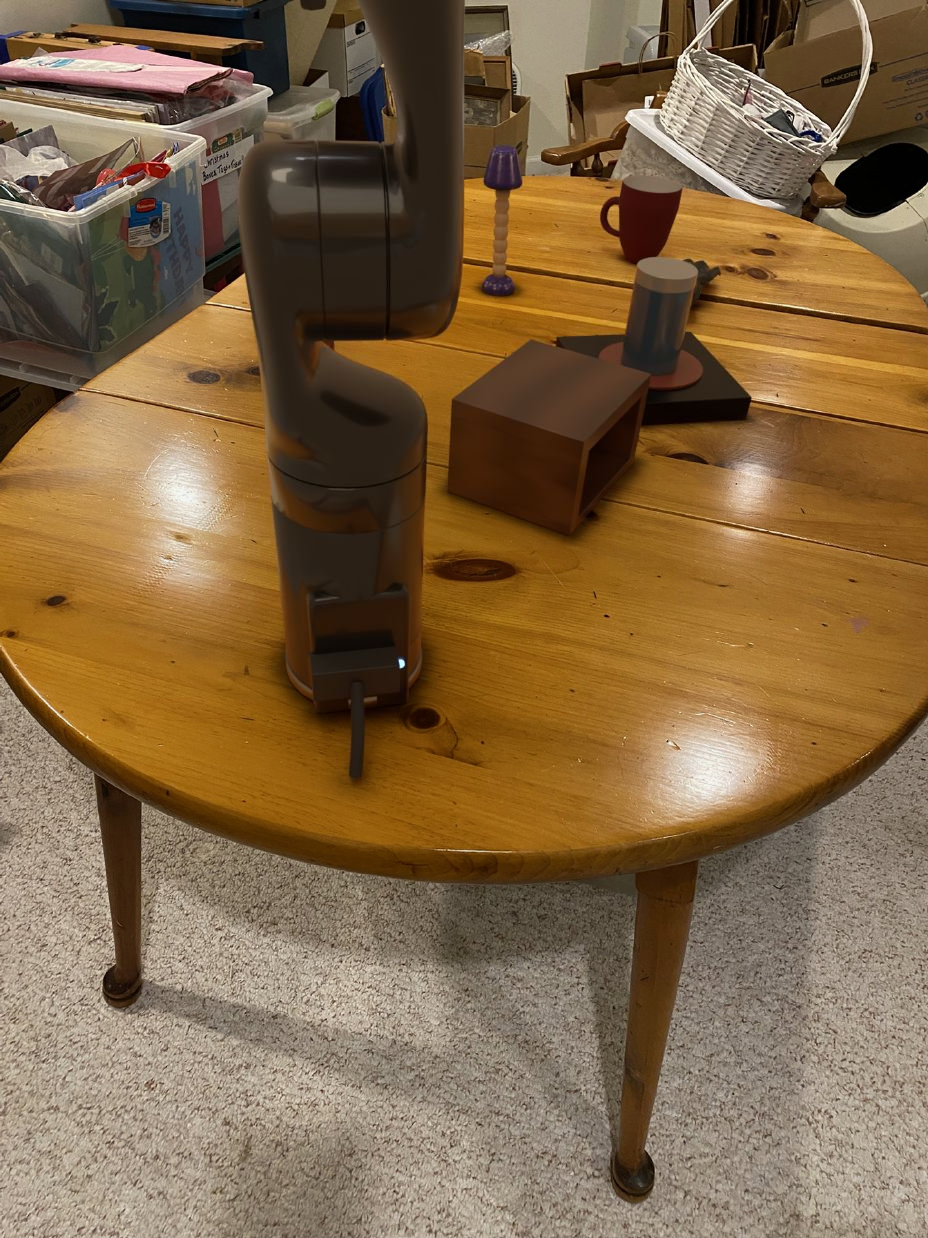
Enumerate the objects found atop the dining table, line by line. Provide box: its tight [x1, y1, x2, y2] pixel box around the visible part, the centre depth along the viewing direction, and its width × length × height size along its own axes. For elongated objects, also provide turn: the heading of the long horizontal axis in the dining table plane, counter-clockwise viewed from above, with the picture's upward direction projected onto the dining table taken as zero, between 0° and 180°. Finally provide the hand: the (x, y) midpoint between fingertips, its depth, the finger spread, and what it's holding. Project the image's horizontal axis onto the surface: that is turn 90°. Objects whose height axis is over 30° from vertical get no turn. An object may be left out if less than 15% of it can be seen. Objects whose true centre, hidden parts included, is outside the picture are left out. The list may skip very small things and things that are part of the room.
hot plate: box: [555, 331, 753, 426], centre depth 98 cm, size 16×16×3 cm
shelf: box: [446, 339, 651, 537], centre depth 82 cm, size 12×14×9 cm
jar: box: [621, 256, 698, 375], centre depth 94 cm, size 6×6×10 cm
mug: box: [599, 174, 684, 265], centre depth 126 cm, size 11×8×10 cm
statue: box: [682, 258, 722, 307], centre depth 116 cm, size 6×6×20 cm
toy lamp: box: [481, 144, 523, 297], centre depth 112 cm, size 5×5×17 cm
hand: (362, 17), depth 65 cm, fingers open, 8 cm apart
